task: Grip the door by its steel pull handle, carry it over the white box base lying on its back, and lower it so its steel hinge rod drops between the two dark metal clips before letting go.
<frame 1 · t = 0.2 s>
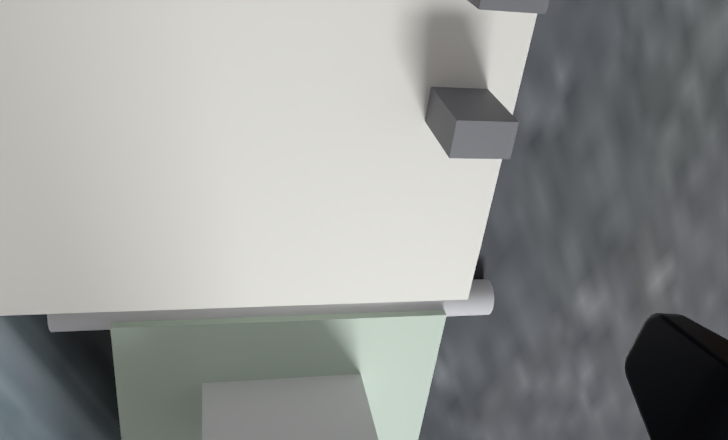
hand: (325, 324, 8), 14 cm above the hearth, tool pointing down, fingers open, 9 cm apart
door: (277, 364, 28), on the hearth
white box base: (181, 83, 21), on the hearth
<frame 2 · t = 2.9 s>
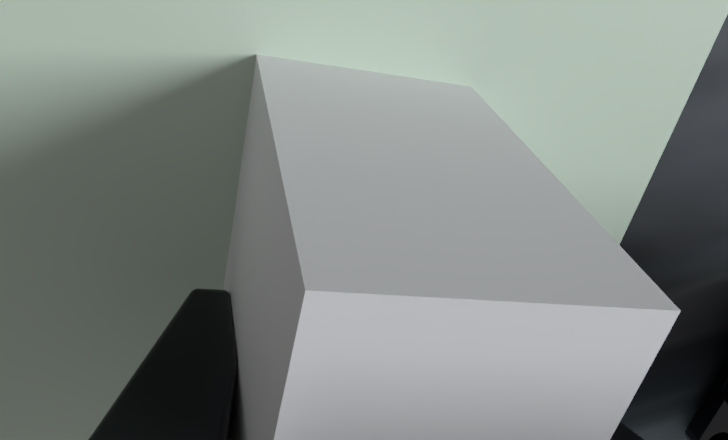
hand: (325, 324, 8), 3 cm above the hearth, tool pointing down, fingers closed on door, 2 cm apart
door: (299, 215, 10), on the hearth, touching gripper
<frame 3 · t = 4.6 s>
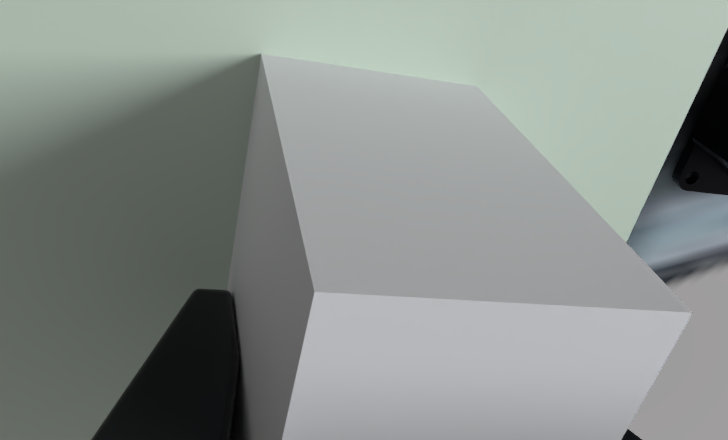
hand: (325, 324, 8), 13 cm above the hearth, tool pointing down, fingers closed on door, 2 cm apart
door: (303, 216, 10), point 10 cm above the hearth, touching gripper
when the fingers open (8 cm above the hearth, at t = 6.3 s): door drops 1 cm, resting on white box base.
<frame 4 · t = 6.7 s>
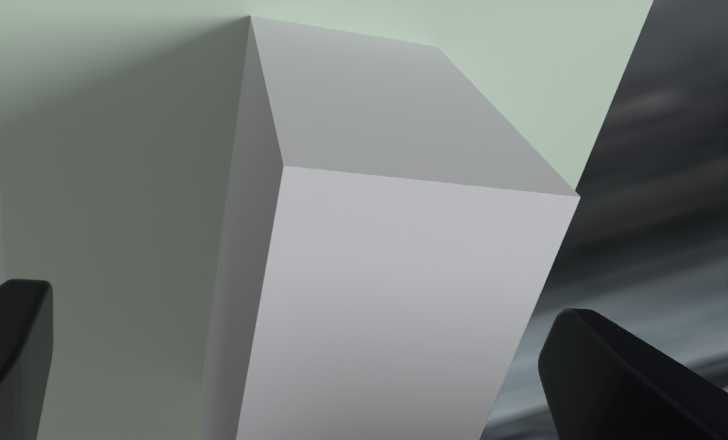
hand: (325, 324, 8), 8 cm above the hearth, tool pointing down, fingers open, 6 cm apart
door: (291, 172, 12), point 4 cm above the hearth, touching white box base
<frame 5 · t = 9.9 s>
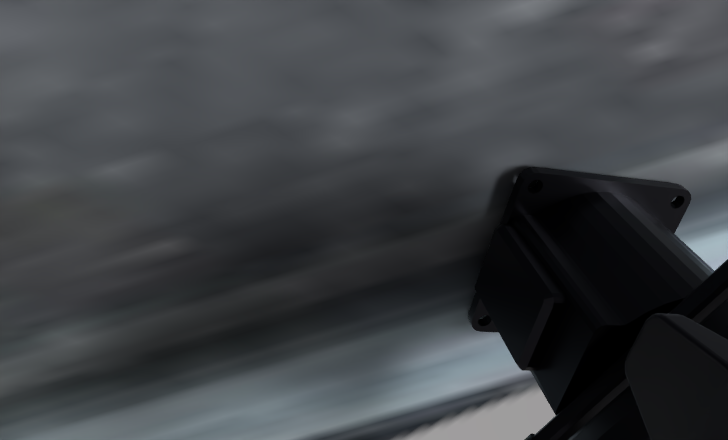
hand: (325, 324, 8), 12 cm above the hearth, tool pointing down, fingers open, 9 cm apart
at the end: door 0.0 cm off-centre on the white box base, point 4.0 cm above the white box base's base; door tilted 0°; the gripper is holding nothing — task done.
